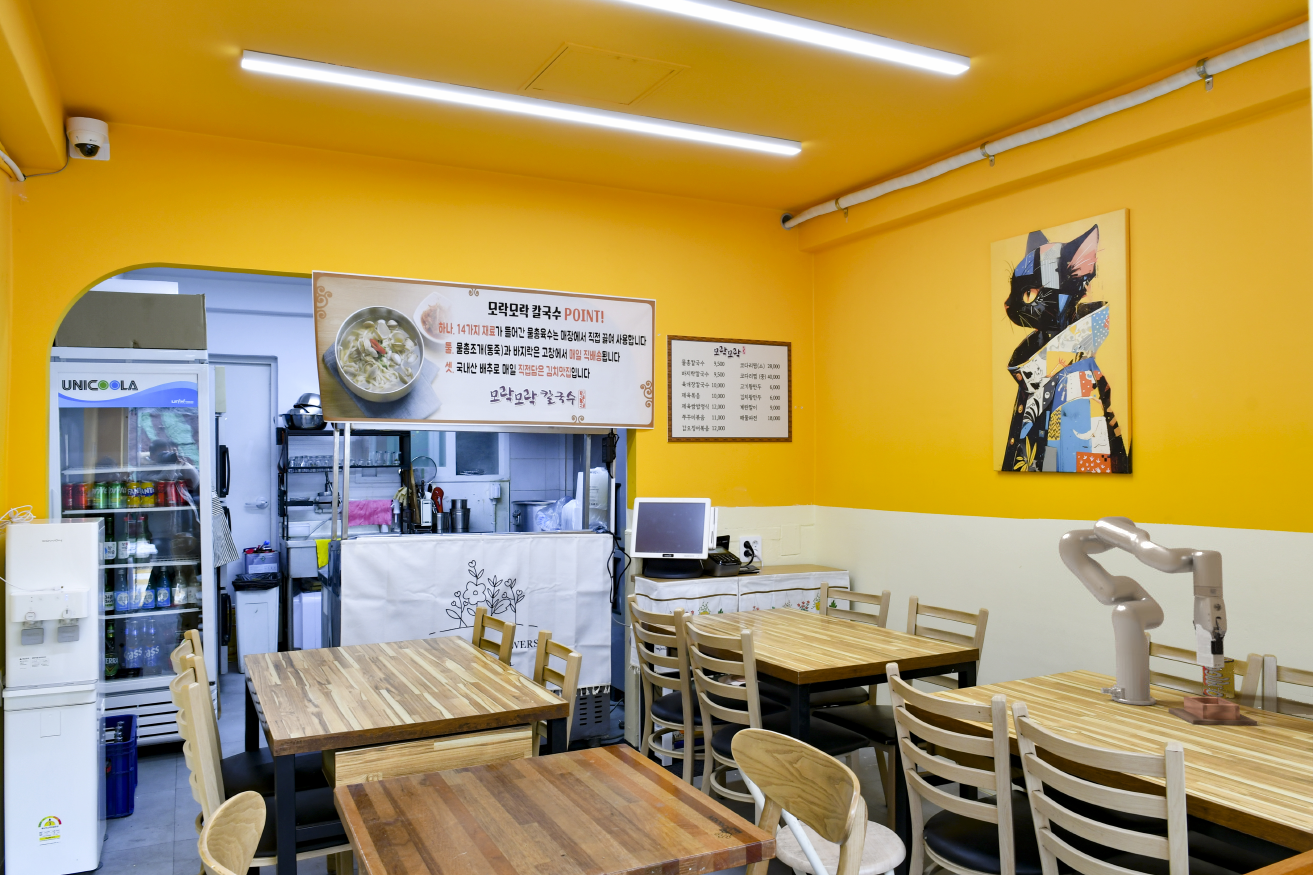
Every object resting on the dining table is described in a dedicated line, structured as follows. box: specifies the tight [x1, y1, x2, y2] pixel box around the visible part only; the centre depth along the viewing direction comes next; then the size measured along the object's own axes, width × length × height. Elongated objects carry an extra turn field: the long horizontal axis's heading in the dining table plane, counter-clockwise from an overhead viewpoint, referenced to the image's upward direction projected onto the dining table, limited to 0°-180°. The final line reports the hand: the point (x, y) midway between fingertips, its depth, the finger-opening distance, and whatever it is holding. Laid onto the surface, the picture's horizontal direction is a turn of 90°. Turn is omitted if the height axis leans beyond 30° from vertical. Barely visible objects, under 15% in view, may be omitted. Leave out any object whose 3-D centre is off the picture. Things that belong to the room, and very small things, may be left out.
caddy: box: [1167, 696, 1258, 726], centre depth 269 cm, size 18×14×5 cm
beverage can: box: [1201, 656, 1236, 699], centre depth 299 cm, size 9×9×12 cm
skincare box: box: [1195, 625, 1225, 668], centre depth 270 cm, size 6×4×12 cm
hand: (1209, 651), depth 270 cm, fingers closed on skincare box, 7 cm apart
